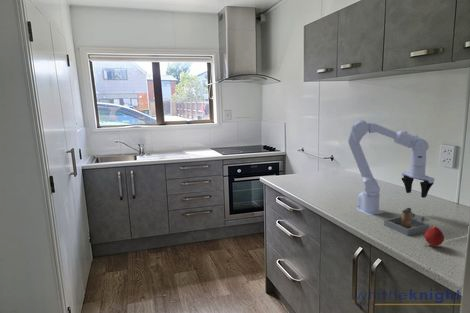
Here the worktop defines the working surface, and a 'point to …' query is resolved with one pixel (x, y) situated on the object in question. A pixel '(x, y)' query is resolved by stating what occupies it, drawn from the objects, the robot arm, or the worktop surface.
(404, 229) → the bin
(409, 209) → the brown wooden cylinder
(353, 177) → the worktop surface
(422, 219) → the plate
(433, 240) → the onion
